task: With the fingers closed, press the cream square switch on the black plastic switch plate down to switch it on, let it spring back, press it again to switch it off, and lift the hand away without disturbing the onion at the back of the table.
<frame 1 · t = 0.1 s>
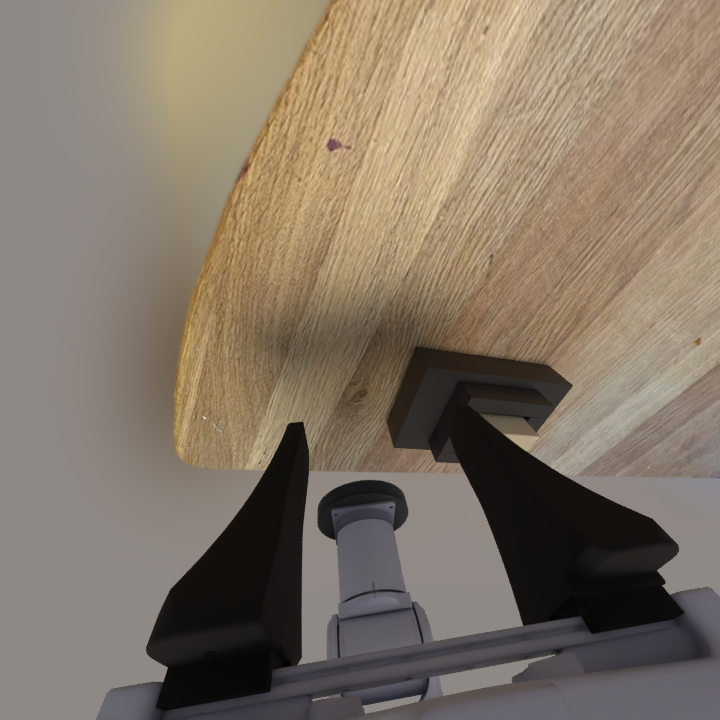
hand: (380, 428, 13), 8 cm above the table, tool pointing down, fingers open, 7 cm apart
switch: (496, 442, 20), point 5 cm above the table, slide at 0.1 cm
switch plate: (465, 395, 24), on the table
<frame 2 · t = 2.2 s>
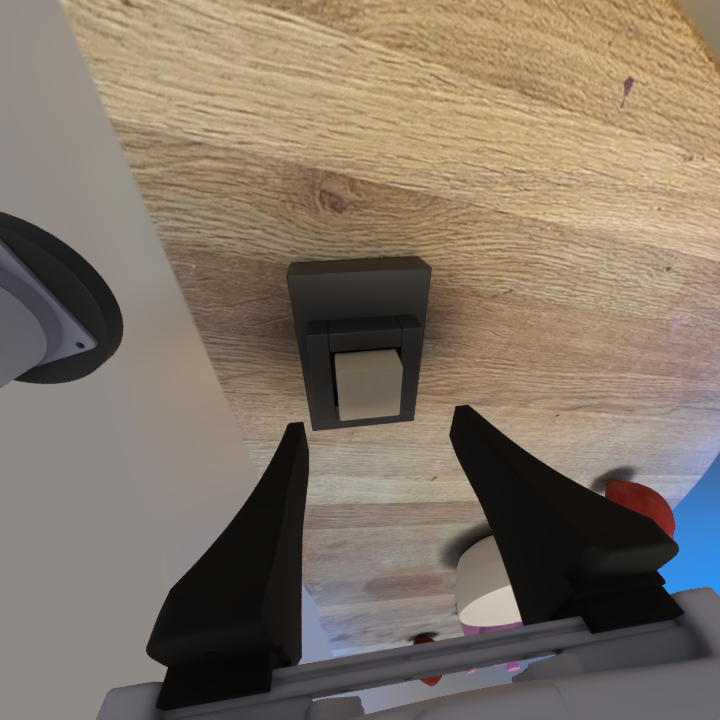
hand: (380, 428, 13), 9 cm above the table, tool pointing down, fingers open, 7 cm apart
teapot: (481, 597, 57), on the table
switch: (367, 384, 16), point 5 cm above the table, slide at 0.1 cm
bowl: (496, 542, 43), on the table
switch plate: (358, 342, 21), on the table
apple: (422, 635, 68), on the table
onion: (608, 479, 37), on the table
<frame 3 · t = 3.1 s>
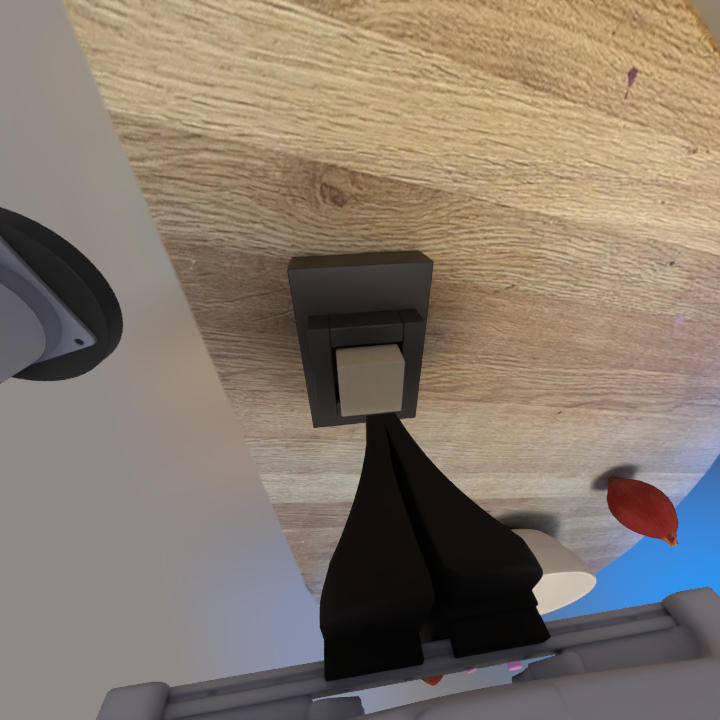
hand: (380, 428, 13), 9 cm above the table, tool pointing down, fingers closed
switch: (369, 380, 16), point 5 cm above the table, slide at 0.1 cm
bowl: (498, 541, 43), on the table
switch plate: (359, 338, 21), on the table
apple: (424, 634, 68), on the table
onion: (611, 477, 36), on the table
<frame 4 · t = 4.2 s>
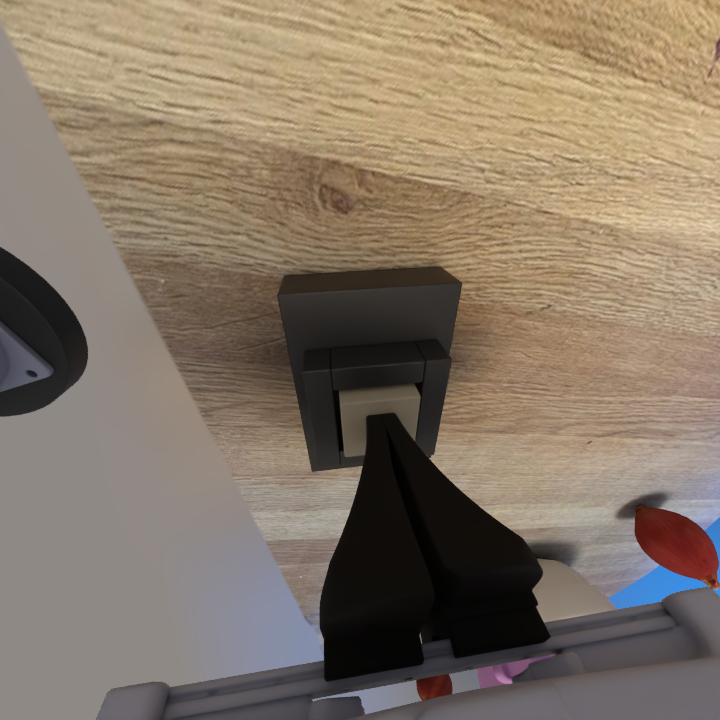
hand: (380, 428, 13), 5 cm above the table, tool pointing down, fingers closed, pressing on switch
teapot: (491, 620, 54), on the table
switch: (377, 414, 14), point 4 cm above the table, slide at -0.8 cm, touching gripper
bowl: (511, 569, 40), on the table
switch plate: (365, 367, 17), on the table
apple: (428, 656, 65), on the table
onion: (638, 505, 33), on the table
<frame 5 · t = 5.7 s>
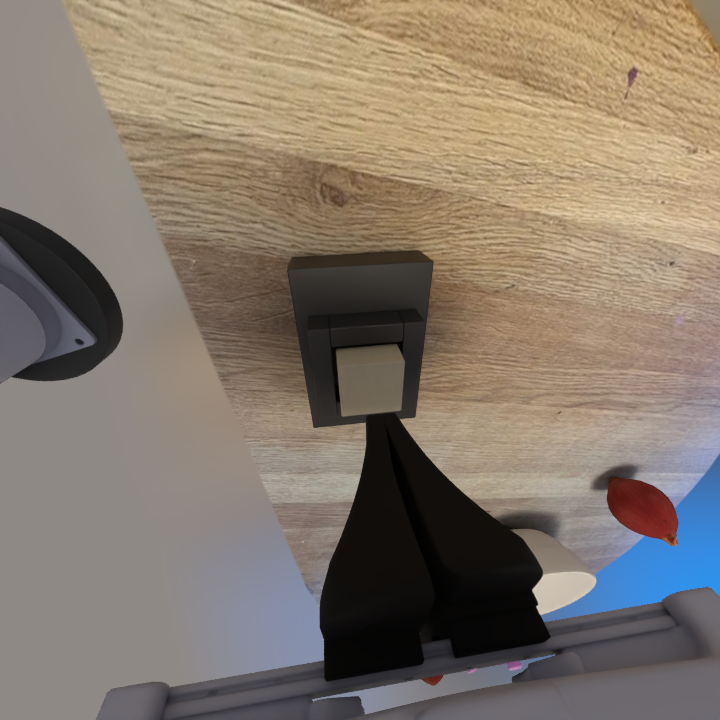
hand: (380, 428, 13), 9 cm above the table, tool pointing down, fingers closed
switch: (369, 380, 16), point 5 cm above the table, slide at 0.1 cm
bowl: (498, 541, 43), on the table
switch plate: (359, 338, 21), on the table
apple: (424, 634, 68), on the table
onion: (611, 477, 36), on the table
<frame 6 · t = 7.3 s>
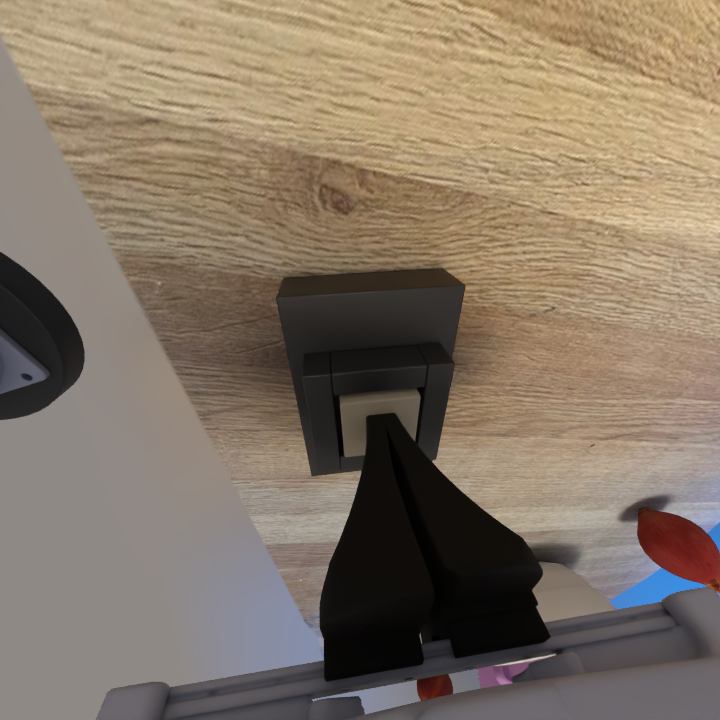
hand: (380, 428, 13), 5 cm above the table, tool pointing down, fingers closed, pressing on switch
teapot: (492, 623, 54), on the table
switch: (377, 414, 14), point 4 cm above the table, slide at -1.2 cm, touching gripper
bowl: (513, 572, 40), on the table
switch plate: (366, 370, 17), on the table
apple: (429, 658, 65), on the table
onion: (640, 507, 33), on the table
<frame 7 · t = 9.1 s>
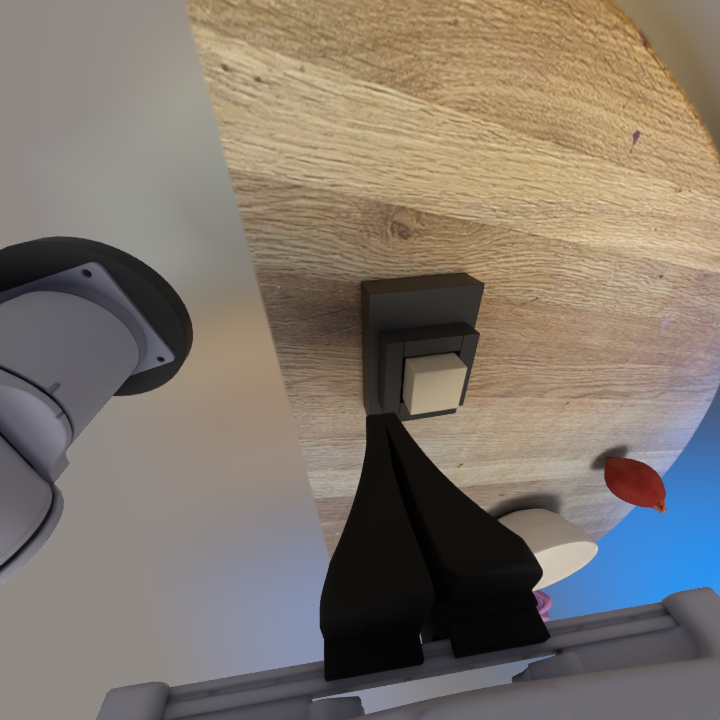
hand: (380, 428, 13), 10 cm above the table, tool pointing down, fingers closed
teapot: (490, 576, 62), on the table
switch: (432, 383, 19), point 5 cm above the table, slide at 0.1 cm
bowl: (508, 522, 48), on the table
switch plate: (408, 347, 24), on the table
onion: (606, 457, 41), on the table
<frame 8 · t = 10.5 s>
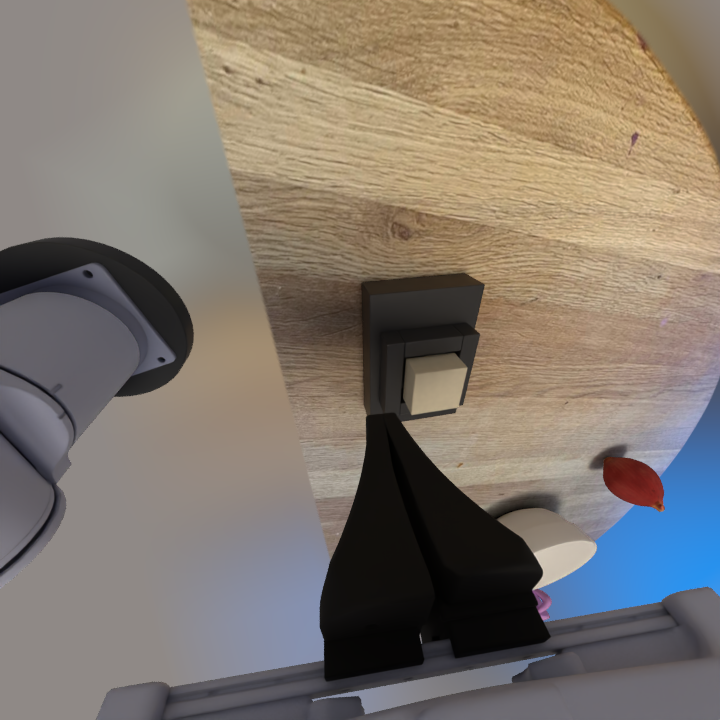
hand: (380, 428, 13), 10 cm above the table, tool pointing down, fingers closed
teapot: (490, 575, 62), on the table
switch: (432, 383, 20), point 5 cm above the table, slide at 0.1 cm
bowl: (507, 521, 48), on the table
switch plate: (408, 347, 24), on the table
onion: (605, 456, 42), on the table
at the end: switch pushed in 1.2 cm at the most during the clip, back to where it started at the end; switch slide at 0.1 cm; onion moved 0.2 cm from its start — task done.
